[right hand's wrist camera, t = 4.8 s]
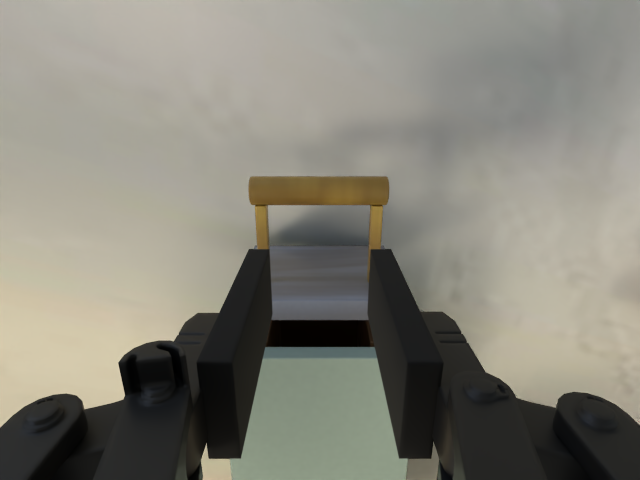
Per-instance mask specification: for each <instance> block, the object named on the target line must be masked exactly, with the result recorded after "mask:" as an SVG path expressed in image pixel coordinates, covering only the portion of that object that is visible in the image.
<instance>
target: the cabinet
mask: <svg viewBox="0 0 640 480" xmlns="http://www.w3.org/2000/svg"><path fill="white" fill-rule="evenodd" d="M230 465H231V474H232V480H406V475H407V465H408V459H399V456H398V451H397V447H396V442H395V438H394V433H393V429H392V424H391V419H390V415H389V410H388V406H387V401H386V397H385V392H384V387H383V383H382V378H381V374H380V369H379V365H378V360H377V355H376V351H375V347H265V351H264V355H263V360H262V365H261V369H260V374H259V378H258V383H257V387H256V392H255V397H254V401H253V406H252V410H251V415H250V419H249V424H248V429H247V433H246V438H245V442H244V447H243V451H242V456H241V459H230Z"/></svg>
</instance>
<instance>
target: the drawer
mask: <svg viewBox="0 0 640 480" xmlns="http://www.w3.org/2000/svg"><path fill="white" fill-rule="evenodd" d="M388 199H389V181H388V178H387V177H386V176H252V177H250V180H249V200H250V203H251V205H256V206H255V216H256V233H257V246H255V247H254V249H270V269H271V290H272V311H273V314H272V319H271V323H270V328H269V333H268V337H267V342H266V346H265V347H375V346H374V342H373V337H372V333H371V328H370V323H369V319H368V314H367V311H368V290H369V269H370V249H385V248H384V246H381V232H382V214H383V206H382V205H387V203H388ZM268 205H370V223H369V245H368V246H269V225H268Z"/></svg>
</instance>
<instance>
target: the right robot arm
mask: <svg viewBox="0 0 640 480" xmlns="http://www.w3.org/2000/svg"><path fill="white" fill-rule="evenodd" d="M272 314H273V311H272V290H271V269H270V249H249V250H248V252H247V255H246V257H245V259H244V261H243V263H242V265H241V267H240V270H239V272H238V274H237V276H236V278H235V280H234V283H233V285H232V287H231V289H230V291H229V293H228V295H227V298H226V300H225V302H224V304H223V306H222V308H221V310H220V313H197V314H196V315H195V316H193V317H192V318H190V319H189V320H188V321H186V322H185V324H184V325H183V327H182V329H181V330H180V332H179V335H177V337H176V339H175V341H174V342H173V341H155V342H150V343H146V344H143V345H141V346H138V347H136V348H134V349H132V350H131V351H129V352H128V353H127V354H125V355H124V356H123V357H122V359H121V360H120V361H119V368H120V373H121V377H122V382H123V387H124V392H125V397H124V400H121V401H118V402H115V403H111V404H107V405H102V406H98V407H94V408H89V409H85V410H84V406H83V403H82V401H81V400H80V399H79V398H78V397H77V396H75V395H70V394H58V395H52V396H48V397H45V398H42V399H39V400H37V401H35V402H33V403H31V404H29V405H27V406H25V407H24V408H22V409H21V410H20V411H18V412H17V413H16V414H14V415H13V416H12V417H11V418H10V419H9V420H8V421H7V422H6V423H5V424H4V425H3V426H2V427H1V428H0V480H202V479H203V474H202V467H201V458H202V455H203V452H204V449H205V446H206V443H207V449H208V456H209V459H241V456H242V451H243V447H244V442H245V438H246V433H247V429H248V424H249V419H250V415H251V410H252V406H253V401H254V397H255V392H256V387H257V383H258V378H259V374H260V369H261V365H262V360H263V355H264V351H265V346H266V342H267V337H268V333H269V328H270V323H271V319H272ZM367 314H368V319H369V323H370V328H371V333H372V337H373V342H374V346H375V351H376V355H377V360H378V365H379V369H380V374H381V378H382V383H383V387H384V392H385V397H386V401H387V406H388V410H389V415H390V419H391V424H392V429H393V433H394V438H395V442H396V447H397V451H398V456H399V459H431V456H432V448H433V441H434V444H435V447H436V450H437V453H438V456H439V466H438V474H437V480H640V425H639V424H638V423H637V422H636V421H635V420H634V419H633V418H631V417H630V416H629V415H628V414H627V413H626V412H624V411H623V410H622V409H621V408H619V407H618V406H617V405H615V404H613V403H611V402H609V401H607V400H605V399H603V398H601V397H598V396H594V395H591V394H588V393H579V392H572V393H567V394H564V395H562V396H561V397H560V398H559V399H558V403H557V406H556V408H554V407H549V406H545V405H540V404H536V403H532V402H528V401H524V400H521V399H518V398H516V397H515V394H514V393H513V391H512V390H511V388H510V387H509V386H508V385H507V384H506V383H504V382H503V381H502V380H500V379H499V378H497V377H495V376H492V375H490V374H488V373H486V372H485V370H484V369H483V367H482V365H481V364H480V362H479V360H478V359H477V357H476V356H475V354H474V352H473V351H472V349H471V347H470V346H469V344H468V343H467V341H466V339H465V337H464V336H463V334H461V331H460V329H459V327H458V326H457V324H456V322H455V321H454V320H453V319H451V318H450V317H449V316H447V315H446V314H445V313H443V312H420V310H419V308H418V306H417V304H416V302H415V300H414V298H413V295H412V293H411V291H410V289H409V287H408V285H407V283H406V280H405V278H404V276H403V274H402V272H401V270H400V268H399V265H398V263H397V261H396V259H395V257H394V255H393V252H392V250H391V249H370V269H369V290H368V311H367Z"/></svg>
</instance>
